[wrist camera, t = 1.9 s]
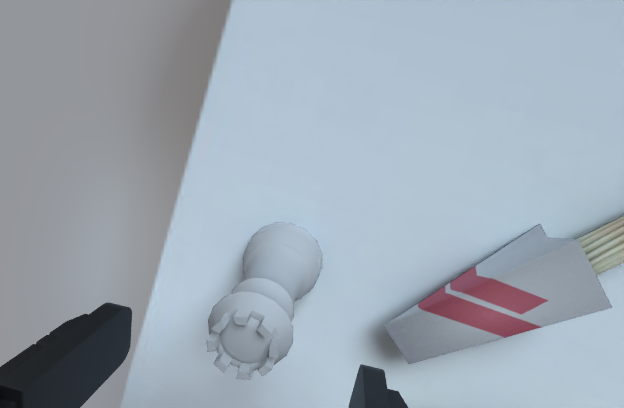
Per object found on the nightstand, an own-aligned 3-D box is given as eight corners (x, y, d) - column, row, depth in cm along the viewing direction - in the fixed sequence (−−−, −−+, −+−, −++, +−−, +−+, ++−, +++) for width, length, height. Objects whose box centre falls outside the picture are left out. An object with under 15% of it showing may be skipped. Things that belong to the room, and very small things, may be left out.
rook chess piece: (337, 268, 18) (331, 373, 10) (275, 301, 19) (228, 419, 11) (296, 205, 18) (257, 267, 10) (234, 242, 19) (154, 325, 11)
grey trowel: (382, 334, 15) (845, 111, 12) (375, 304, 18) (751, 116, 15) (419, 392, 16) (871, 196, 13) (407, 356, 19) (776, 185, 15)
